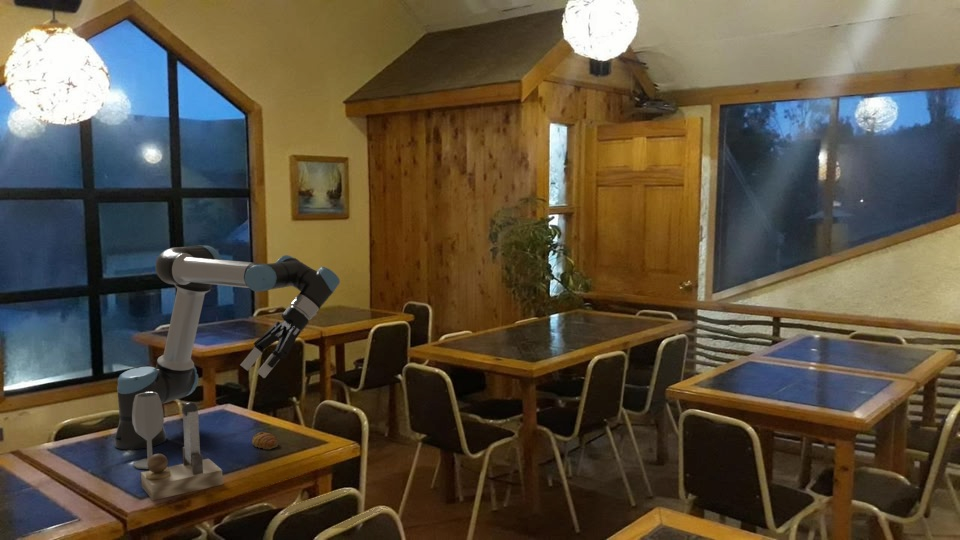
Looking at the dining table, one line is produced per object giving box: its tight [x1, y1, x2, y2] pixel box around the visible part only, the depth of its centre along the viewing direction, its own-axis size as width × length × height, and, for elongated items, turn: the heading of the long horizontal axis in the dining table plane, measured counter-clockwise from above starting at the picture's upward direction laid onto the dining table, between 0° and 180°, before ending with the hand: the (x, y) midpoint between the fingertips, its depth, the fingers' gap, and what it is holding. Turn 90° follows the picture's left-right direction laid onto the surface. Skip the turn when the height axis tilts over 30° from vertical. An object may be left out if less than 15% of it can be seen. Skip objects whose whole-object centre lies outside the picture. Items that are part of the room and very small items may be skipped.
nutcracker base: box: [140, 446, 224, 501], centre depth 207 cm, size 18×12×10 cm, turn 126°
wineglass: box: [132, 392, 165, 470], centre depth 224 cm, size 9×9×21 cm
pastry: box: [251, 431, 279, 450], centre depth 241 cm, size 9×7×4 cm
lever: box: [181, 401, 201, 466], centre depth 208 cm, size 4×7×18 cm, turn 36°
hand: (251, 371), depth 217 cm, fingers open, 13 cm apart
